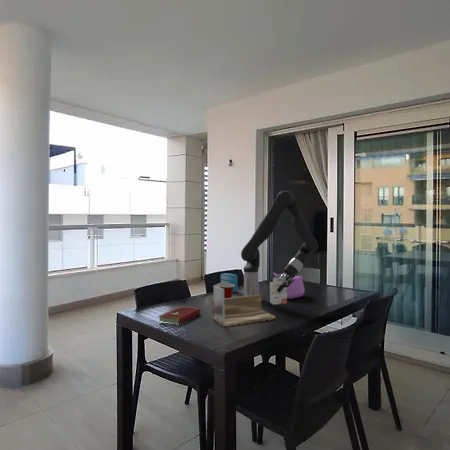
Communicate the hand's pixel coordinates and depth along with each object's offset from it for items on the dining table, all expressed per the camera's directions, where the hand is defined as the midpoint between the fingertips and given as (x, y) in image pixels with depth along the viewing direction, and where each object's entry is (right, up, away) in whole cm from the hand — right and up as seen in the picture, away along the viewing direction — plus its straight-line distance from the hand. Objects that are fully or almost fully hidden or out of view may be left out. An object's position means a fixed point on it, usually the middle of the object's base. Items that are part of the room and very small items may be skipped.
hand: (275, 290), depth 202 cm
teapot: (+13, -10, +31) cm, 35 cm away
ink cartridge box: (+2, -7, +1) cm, 8 cm away
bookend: (-31, -10, -23) cm, 40 cm away
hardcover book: (-51, -13, -15) cm, 55 cm away
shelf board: (-19, -11, -17) cm, 28 cm away
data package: (-25, -10, +51) cm, 58 cm away
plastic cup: (-28, -11, +15) cm, 33 cm away
